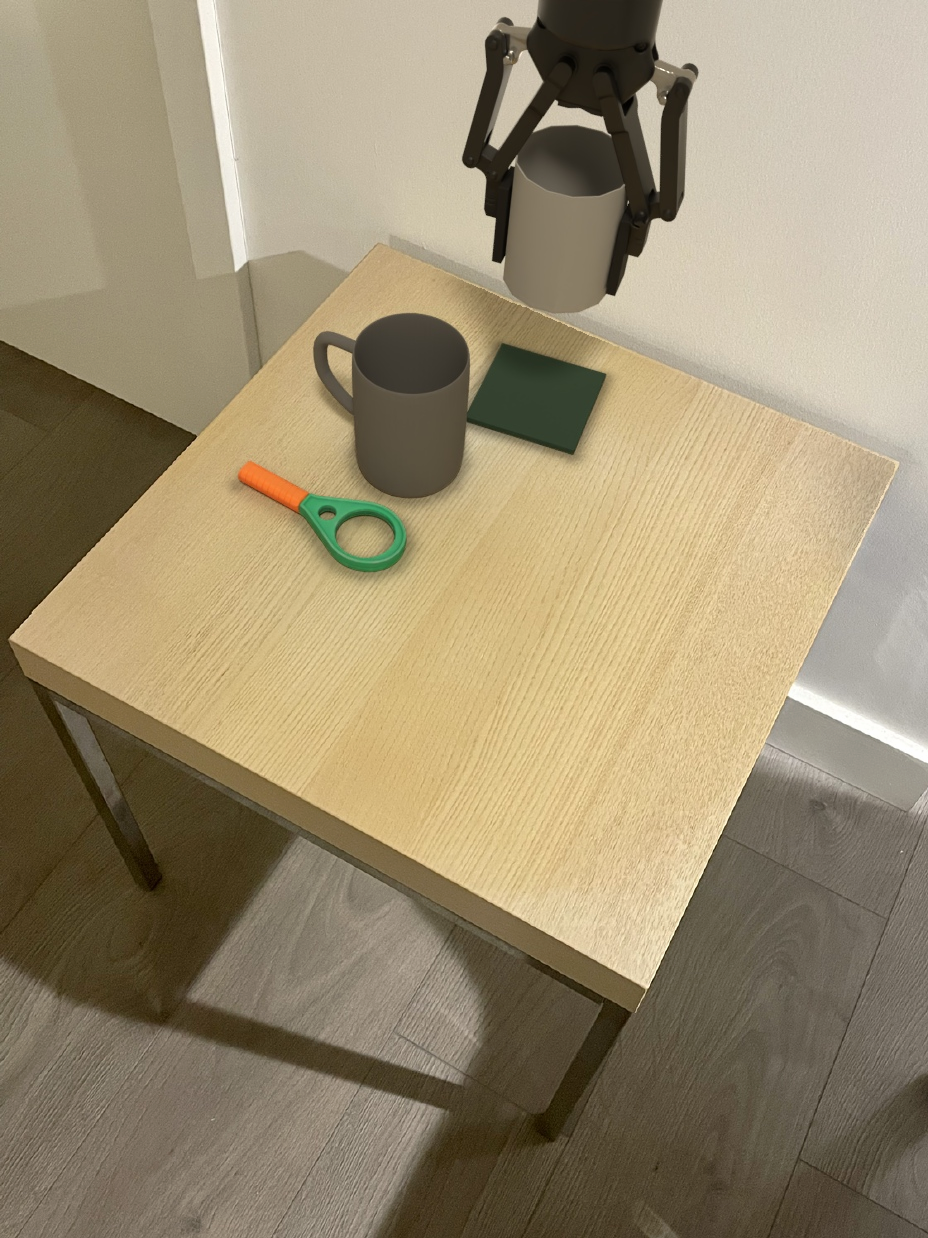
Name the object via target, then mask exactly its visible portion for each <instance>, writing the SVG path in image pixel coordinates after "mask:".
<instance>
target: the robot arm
mask: <svg viewBox="0 0 928 1238" xmlns="http://www.w3.org/2000/svg"><path fill="white" fill-rule="evenodd" d="M663 3H664V0H538V1H537V9H536V19H535V22H534V23H533V25H532V27H531V26H530V27H529V26H517V25H514V22H513V20H512V19H510V18H509V17H508V16H507V17H506V16H502V17H500V18H499V19H498V20H497V22H496V23H495V24H494V26H493V27H492V29H491V30H490V32H489V34H488V35H487V36H486V38H485V40H484V52H485V66H486V68H485V69H486V71H485V74H484V78H483V81H482V85H481V87H480V88H481V89H480V92H479V95H478V98H477V102H476V106H475V109H474V113H473V116H472V121H471V124H470V128H469V131H468V135H467V139H466V142H465V145H464V148H463V153H462V155H461V162H462V164H463V165H464V166H465V167H466V168H467V169H475V168H476V169H477V170H479V171H480V172H482V174H483V175H484V176H485V190H484V203H483V210H484V211H483V212H484V214H485V216H487V217H490V218H493V219H495V223H494V231H493V232H494V234H493V243H492V244H493V245H492V255H491V262H493V263H497V264H500V265H501V264H502V263H503V261H504V260H505V255H506V245H507V236H508V226H509V217H510V208H511V198H512V189H513V179H514V170H515V165H512V163H513V162H514V160H516V155H517V154H518V153H519V151H520V150H521V149H522V147H523V146H524V144H525V143H526V141H527V140H528V138H529V137H530V135H531V134H532V132H535V129H536V128H537V127H538V125H539V124H540V123H541V121H542V119H543V118H544V117H545V115H546V114H547V113H548V111H549V110H550V109H551V107H552V105H553V104H554V102H555V101H556V102H557V106H558V107H561V108H565V109H581V110H583V111H584V112H586V113H588V114H590V115H592V116H596V117H601V118H603V122H604V126H605V130H606V131H607V132H606V134H608V135H610V136H611V137H612V141H613V144H614V148H615V152H616V156H617V159H618V163H619V167H620V171H621V174H622V178H623V182H624V184H625V190H626V193H627V197H628V205H627V209H626V210H625V212H624V214H623V216H622V218H621V221H620V226H619V231H618V235H617V240H616V245H615V250H614V255H613V260H612V264H611V269H610V274H609V279H608V284H607V288H606V293H605V294H606V295H609V296H612V297H616V295H617V293H618V291H619V288H620V286H621V283H622V281H623V279H624V276H625V274H626V270H627V264H628V260H629V256H630V257H634V258H639V257H640V256H641V255H642V254H643V251H644V249H645V246H646V244H647V241H648V237H649V234H650V230H651V225H652V221H653V220H656V219H657V220H658V219H661V220H662V221H663V222H665V223H671V222H673V221H674V220H675V219H676V218H677V215H678V213H679V211H680V209H681V206H682V203H683V201H684V198H685V189H686V168H687V167H686V165H687V142H688V141H687V139H688V138H687V137H688V114H689V113H688V112H689V98H690V96H691V94H692V91H693V89H694V86H695V85H696V82H697V79H698V77H699V73H700V72H699V68H698V66H697V65H696V64H694V63H692V62H688V63H687V62H686V63H683V65H682V66H681V67H679V66H676V65H673V64H671V63H669V62H666V61H664V60H662V59H660V55H659V51H658V48H657V43H656V42H657V41H656V37H657V33H658V26H659V22H660V17H661V11H662V7H663ZM524 51H527V53H528V56H529V57H530V58H531V60H532V63H533V65H534V66H535V68H536V71H537V72H538V74H539V77H540V79H541V81H542V82H541V84H540V85H539V87H538V88H537V90H536V91H535V93H534V95H533V96H532V97H531V99H530V100H529V102H528V103H527V105H526V107H525V109H524V110H523V112H522V113H521V115H520V116H519V117H518V119H517V120H516V122H515V123H514V125H513V127H512V128H511V129H510V131H509V133H508V134H507V136H506V137H505V139H504V140H503V141H502V143H501V144H500V146H499V147H498V149H497V148H496V147H494V146H493V145H491V144H490V143H491V139H492V136H493V133H494V130H495V126H496V124H497V119H498V116H499V113H500V110H501V106H502V103H503V100H504V96H505V93H506V90H507V87H508V84H509V80H510V76H511V73H512V70H513V67H514V65H516V64H517V63H518V62H519V60H520V58H521V56H522V55H523V54H524V53H523V52H524ZM649 82H651V83H653V84H654V86H655V87H656V99H657V102H658V104H659V105H660V106H663V109H662V112H661V118H660V143H659V144H660V145H659V191H658V190H657V186H656V181H655V179H654V175H653V170H652V166H651V161H650V157H649V153H648V150H647V149H648V148H647V145H646V142H645V141H646V140H645V137H644V133H643V129H642V124H641V121H640V117H639V112H638V110H639V101H638V96H637V93H638V92H639V91H640V90H641V89H642V88H644V87H645V86H646V85H647V84H648V83H649Z"/></svg>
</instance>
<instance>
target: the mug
mask: <svg viewBox="0 0 928 1238" xmlns="http://www.w3.org/2000/svg"><path fill="white" fill-rule="evenodd" d="M329 346H332V347H334V348H338V349H340V350H343V351H344V352H347V353H349V354H351V391H352V392H351V394H352V395H350V393H349V392H348V391H347V390H346V388H344V386H343V385H342V384H341V383H340V381H339V380H338V379H337V377H336V376H335V375H334V373H333V371H332V370H331V368H330V367H331V366H330V363H329V359H328V348H329ZM312 349H313V350H312V354H313V362H314V369H315V371H316V374H317V377H318V378H319V380H320V381H321V383H322V384H323V386H324V387H325V388H326V390H327V391H328V392H329V393H330V395H331V396H332V398H334V400H335V401H336V402H337V403H338V404H339V406H341V407H342V408H343V409H344V410H345V411H346V412H347V413H348V414H350V415H352V417H353V431H354V444H355V456H356V461H357V464H358V467H359V470H360V472H361V474H362V475H363V477H364V478H365V480H366V481H367V482H368V483H369V484H370V485H371V486H372V487H374V488H375V489H377V490H378V491H380V492H383V493H385V494H387V495H390V496H393V497H397V498H405V499H416V498H417V499H418V498H424V497H428V496H431V495H434V494H436V493H438V492H440V491H442V490H444V489H445V488H447V487H448V486H449V485H450V484H451V483H452V482H453V481H454V479H455V478H456V477H457V475H458V474H459V472H460V470H461V466H462V461H463V458H464V453H465V452H464V451H465V443H466V432H467V423H468V422H467V411H468V409H469V394H470V378H471V353H470V349H469V345H468V343H467V340H466V339H465V337H464V336H463V335H462V333H461V331H459V330H458V329H457V328H456V327H455V326H453V325H452V324H450V323H449V322H448V321H445V320H443V319H441V318H439V317H436V316H433V315H430V314H425V313H419V312H400V313H395V314H390V315H386V316H382V317H381V318H378V319H376V320H374V321H372V322H371V323H369V324H368V325H367V326H365V327H364V328H363V329H362V330H361V332H359V334H358V335H357V337H356V339H353V338H351V337H349V336H347V335H343V334H341V333H338V332H335V331H330V330H324V331H321V332H320V333H318V335H316V337H315V339H314V342H313V347H312Z"/></svg>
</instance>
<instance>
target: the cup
mask: <svg viewBox="0 0 928 1238" xmlns="http://www.w3.org/2000/svg"><path fill="white" fill-rule="evenodd" d="M514 160H515V161H514V167H515V170H514V179H513V189H512V198H511V208H510V217H509V226H508V236H507V245H506V255H505V257H504V266H503V276H502V280H503V282H504V283H505V285H506V287H507V289H508V291H509V292H510V294H511V296H512V297H514V298H516V299H517V300H518V301H520V302H522V303H523V304H525V305H526V306H528V307H529V308H532V309H535V310H539V311H542V312H546V313H550V314H555V315H557V314H574V313H575V314H576V313H577V314H579V313H581V312H584V311H585V310H588V309H590V308H592V307H595V306H597V305H599V304H600V303H601V301H602V300H603V299H604V298H605V297H606V295H607V294H605V293H606V288H607V284H608V279H609V274H610V269H611V264H612V260H613V255H614V250H615V245H616V240H617V235H618V231H619V226H620V221H621V218H622V216H623V214H624V212H625V210H626V209H627V205H628V203H629V201H628V197H627V193H626V190H625V184H624V182H623V178H622V174H621V171H620V167H619V163H618V159H617V156H616V152H615V148H614V144H613V141H612V137H611V135H610V134H608V133H607V132H605V131H603V130H601V129H595V128H591V127H588V126H587V127H586V126H583V125H579V124H564V125H563V124H561V125H549V126H546V127H544V128H541V129H538V130H536V131H535V130H534V131H533V132H532V134H531V135H530V137H529V138H528V140H527V141H526V143H525V144H524V146H523V147H522V149H521V150H520V151H519V153H518V154H517V155H516V157H515V159H514Z"/></svg>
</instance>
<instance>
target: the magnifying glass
mask: <svg viewBox="0 0 928 1238" xmlns="http://www.w3.org/2000/svg"><path fill="white" fill-rule="evenodd" d="M237 478H238V480H239V481H240V482H242V483H243V484H245V485H247V486H248V487H251V488H253V489H254V490H256V491H258V492H260V493H262V494H264V495H266V496H268V497H269V498H270V499H272V500H275V501H276V502H278V503H280V504H282V505H284V506H286V507H287V508H289V509H291V510H292V511H293V512H296V513H299V514H300V515H301V516H302V517H303V518H304V519H305V520H306V521H307V523H308V524H309V525H310V527H311V528H312V530H313V531H314V533H315V534H316V535H317V537H318V538H319V540H320V541H321V542H322V545H324V547H325V549H326V550H327V551H328V552H329V554H330V555H331V557H333V558H334V560H335V561H337V563H339V564H341V565H342V566H344V567H347V568H349V569H351V570H353V571H354V570H355V571H358V572H364V573H365V572H366V573H367V572H368V573H371V572H379V571H384V570H387V569H388V568H392V566H394V565H396V564H397V563H398V562H399V561H400V559H402V557H403V555H404V553H405V551H406V544H407V531H406V527H405V525H404V523H403V521H402V519H401V518H400V517H399V516H398V514H396V513H395V512H394V511H393V510H392V509H390V508H389V507H387V506H385V505H383V504H381V503H378V502H374V501H369V500H361V499H354V498H353V499H352V498H342V497H334V496H327V495H318V494H314V493H312V492H311V493H310V492H309V491H306V490H305V489H303V488H301V487H299V486H298V485H296V484H294V483H293V482H290V481H288V480H287V479H284V478H283V477H281V476H279V475H277V474H276V473H274V472H271V471H270V470H268V469H267V468H265V467H263V466H261V465H259V464H257V463H256V462H254V461H252V460H248V461H247V462H245V464H244V465H243V466H242V467H241V468H240V469H239V471H238V473H237ZM325 512H330V513H333V514H334V515H335V516H334V517H333V518H331V519H324V518H322V517H321V514H323V513H325ZM358 516H372V517H376V518H378V519H380V520H382V521H384V522H386V523H387V524H388V525H389V527H390V528H391V530H392V532H393V542H392V544H391V545H390V547H389V548H388V549H387V550H385V551H384V552H383V553H381V554H378V555H375V556H371V557H361V556H356V555H353V554H350V553H348V552H346V551H345V550H344V549H343V548H341V546H340V544H338V541H337V538H336V535H337V531H338V529H339V528H340V526H341V525H342V524H343V523H345V521H347V520H349V519H351V518H354V517H358Z"/></svg>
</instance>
